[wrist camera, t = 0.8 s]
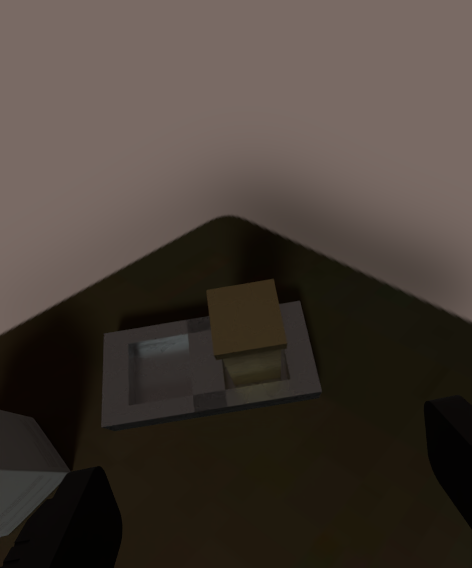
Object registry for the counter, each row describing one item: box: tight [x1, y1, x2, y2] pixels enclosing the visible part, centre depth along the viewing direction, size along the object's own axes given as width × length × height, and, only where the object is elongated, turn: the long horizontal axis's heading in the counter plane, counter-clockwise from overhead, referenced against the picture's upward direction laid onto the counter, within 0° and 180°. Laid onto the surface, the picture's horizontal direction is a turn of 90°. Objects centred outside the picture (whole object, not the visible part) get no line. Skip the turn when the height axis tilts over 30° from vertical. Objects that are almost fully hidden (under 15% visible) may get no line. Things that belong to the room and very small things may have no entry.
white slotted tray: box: [102, 301, 322, 431], centre depth 37 cm, size 20×9×3 cm, turn 98°
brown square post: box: [206, 279, 287, 385], centre depth 33 cm, size 5×5×11 cm
